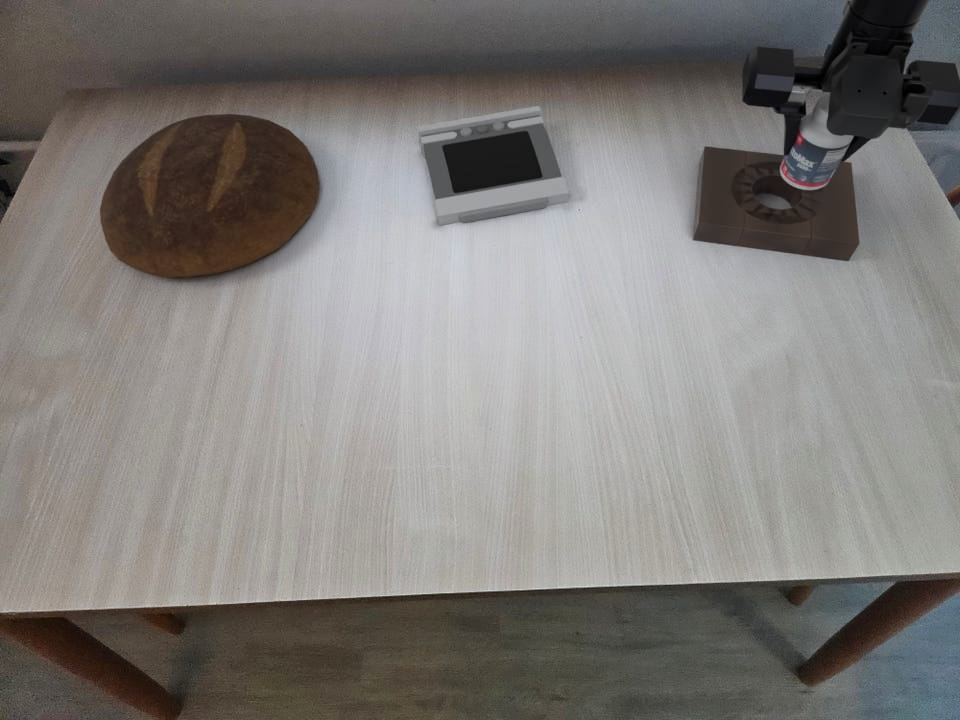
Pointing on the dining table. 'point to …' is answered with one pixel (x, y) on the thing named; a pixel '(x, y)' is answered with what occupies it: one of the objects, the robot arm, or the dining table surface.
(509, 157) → the grey boxy piece
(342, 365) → the dining table surface
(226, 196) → the bread
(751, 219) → the socket pad
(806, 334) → the dining table surface
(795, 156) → the pill bottle
